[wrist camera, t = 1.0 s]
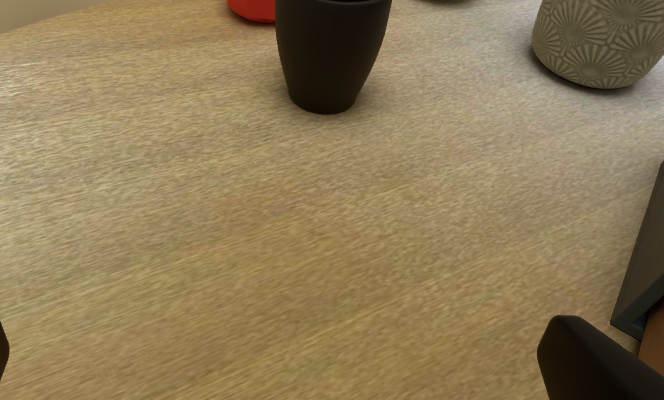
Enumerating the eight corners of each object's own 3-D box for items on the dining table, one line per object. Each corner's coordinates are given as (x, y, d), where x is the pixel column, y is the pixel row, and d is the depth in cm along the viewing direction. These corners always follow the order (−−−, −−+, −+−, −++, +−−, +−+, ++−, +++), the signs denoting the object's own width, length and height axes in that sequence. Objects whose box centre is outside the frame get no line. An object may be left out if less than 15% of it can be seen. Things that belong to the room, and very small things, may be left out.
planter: (594, 115, 42) (672, -8, 35) (494, 47, 49) (539, -69, 41) (667, 84, 48) (748, -28, 40) (568, 27, 55) (621, -79, 47)
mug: (369, 52, 45) (390, -55, 39) (371, 130, 37) (398, 11, 30) (283, 41, 45) (288, -70, 38) (265, 118, 37) (268, -6, 30)
